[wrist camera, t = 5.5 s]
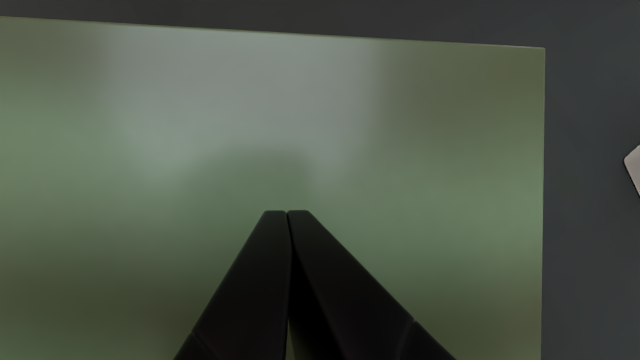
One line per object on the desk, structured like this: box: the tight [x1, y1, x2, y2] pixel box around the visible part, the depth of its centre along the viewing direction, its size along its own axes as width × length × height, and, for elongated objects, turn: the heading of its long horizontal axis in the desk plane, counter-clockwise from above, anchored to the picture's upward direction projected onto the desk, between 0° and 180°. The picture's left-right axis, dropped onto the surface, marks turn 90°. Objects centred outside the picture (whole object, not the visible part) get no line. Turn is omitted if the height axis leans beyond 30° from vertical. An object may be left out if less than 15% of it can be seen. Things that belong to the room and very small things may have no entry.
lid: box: [0, 16, 545, 360], centre depth 10 cm, size 12×13×1 cm
